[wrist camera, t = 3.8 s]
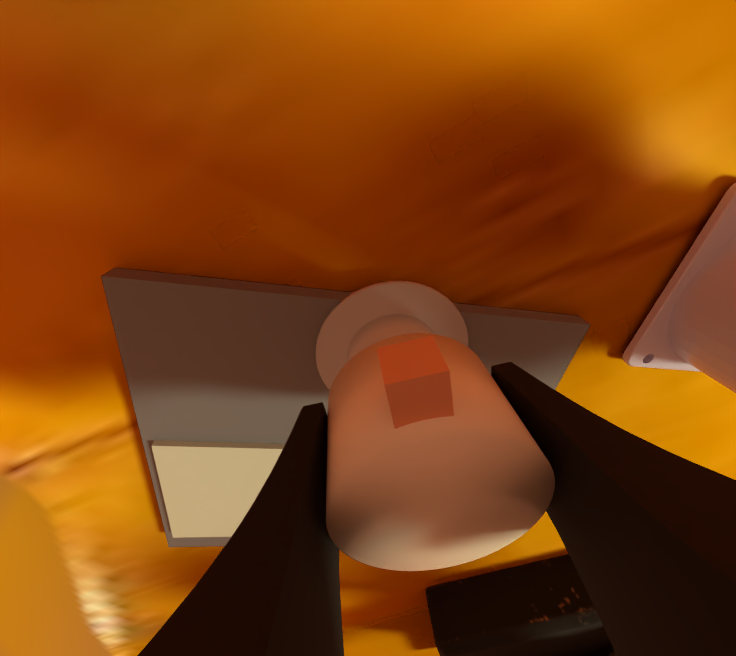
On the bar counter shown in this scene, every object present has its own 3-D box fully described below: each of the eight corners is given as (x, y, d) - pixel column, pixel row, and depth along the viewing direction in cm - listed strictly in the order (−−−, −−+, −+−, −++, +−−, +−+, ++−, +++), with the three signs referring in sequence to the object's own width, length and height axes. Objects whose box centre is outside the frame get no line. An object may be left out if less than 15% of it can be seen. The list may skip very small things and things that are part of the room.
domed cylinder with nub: (490, 439, 12) (546, 546, 9) (349, 470, 12) (354, 586, 9) (486, 279, 9) (574, 358, 6) (294, 323, 9) (273, 425, 6)
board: (589, 294, 14) (644, 328, 11) (467, 528, 22) (484, 576, 19) (108, 238, 11) (44, 267, 8) (174, 532, 19) (152, 590, 17)
